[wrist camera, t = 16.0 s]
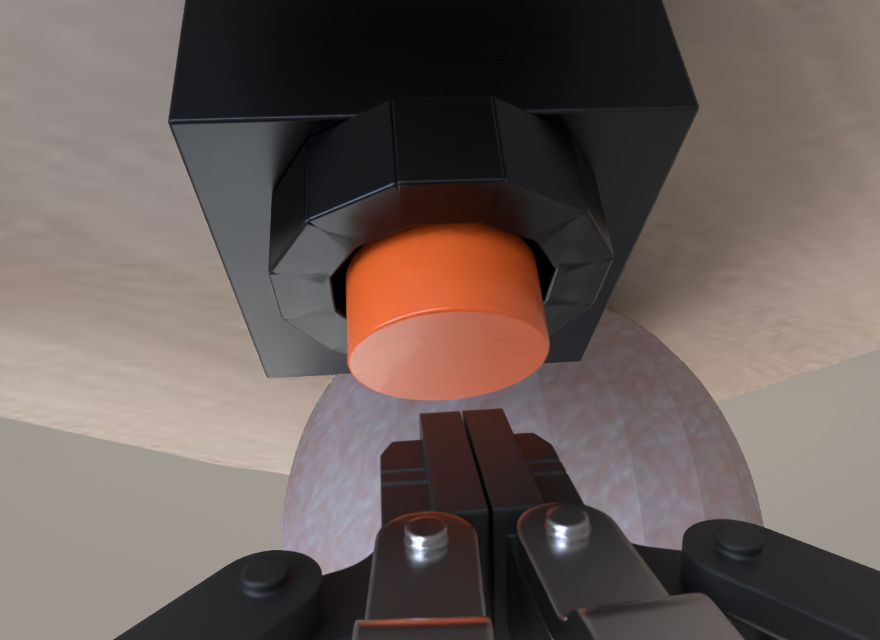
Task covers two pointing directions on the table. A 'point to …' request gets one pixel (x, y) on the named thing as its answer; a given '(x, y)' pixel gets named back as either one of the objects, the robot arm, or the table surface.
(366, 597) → the robot arm
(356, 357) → the orange push button
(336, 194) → the button housing
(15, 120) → the table surface
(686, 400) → the plant pot
